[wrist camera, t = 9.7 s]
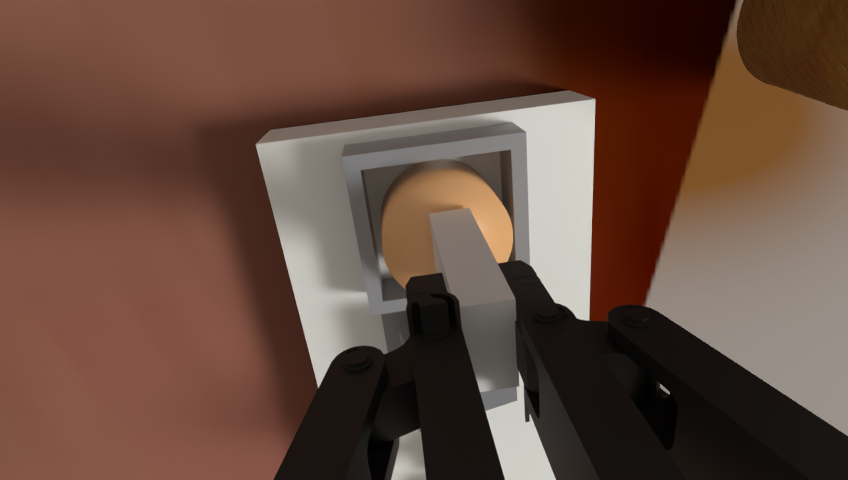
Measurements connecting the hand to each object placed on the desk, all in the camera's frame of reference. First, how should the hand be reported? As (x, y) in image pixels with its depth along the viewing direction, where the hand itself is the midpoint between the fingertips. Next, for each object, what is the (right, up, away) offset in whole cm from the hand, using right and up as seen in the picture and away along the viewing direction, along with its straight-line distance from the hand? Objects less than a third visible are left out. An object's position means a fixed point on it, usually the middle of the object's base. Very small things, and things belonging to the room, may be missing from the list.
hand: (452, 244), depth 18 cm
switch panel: (0, -4, +9) cm, 10 cm away
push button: (0, +1, +3) cm, 3 cm away
